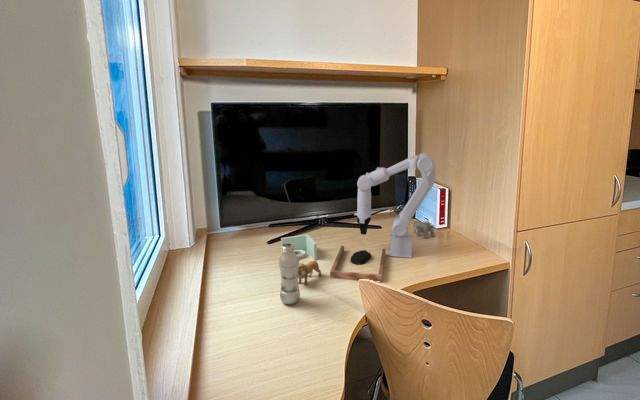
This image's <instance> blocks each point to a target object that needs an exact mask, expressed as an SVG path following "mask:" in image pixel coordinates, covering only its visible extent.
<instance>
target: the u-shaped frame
mask: <svg viewBox="0 0 640 400" xmlns="http://www.w3.org/2000/svg"><path fill="white" fill-rule="evenodd" d="M344 253H345V246H344V245H341V246H340V248H339V251H338V252H337V256H336V257H335V259H334V262H333V265H332V266H331V269H330V271H329V278H330V279H339V280H352V281H359V279H369V280H373V281H380V282H379V283H381V282H382V280H383V275H384V266H385V261H386V260H385V258H386V248H382V251H381V256H380V264H379V269H378V274H377V273H367V272H365V273H364V272H356V271H355V272H353V271H344V270H338V267H339V265H340V262H341V261H342V258H343V256H344Z"/></svg>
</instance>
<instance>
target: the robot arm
mask: <svg viewBox="0 0 640 400" xmlns="http://www.w3.org/2000/svg"><path fill="white" fill-rule="evenodd" d="M436 168H437V166H436V164H435V160H434V159H433V158H432V157H431V155H430V154H429V153H427V152H421V153H419V154H416V155H413V156H410V157H407V158H406V159H404V160H402V161H400V162H397V163H396V164H394V165H391V166H390V167H388V168H387V167H383V166H382V167H380V166H378V167H376V169H375V170H373V171H371V172H366V173H365V174H363V175H360V176H359V178H358V180H357V183H356V185H357V194H356V195H357V196H356V197H357V201H356V202H357V203H356V205H357V207H356V208H357V209H356V210H357V211H356V212H354V216H357V218H356V221H357V224H358V226H359V230H360V234H361V235H363V236H364V235H367V232H368V229H369V224H370V221H371V218H372V192H371V191H372V190H371V189H372V187H375V186H378V185H380V184H382V183H385V182H386V181H388V180H389V179H390V177H391V176H394V175H395V174H398V173H400V172H403V171H406V170H413V171H417V169H418V170H419V172H420V174H421V181H420V182H419V184H418V186H417V187H416V188H415V190H414V192H413V193H412V194H411V196H410V197H409V199H408V201H407V203H406V204H405V205H404V208H403V209H402V210H401V211H400V212H399V214H398V215H397V216H394V217H393V218H392V221H391V225H392V227H391V231H390V247H389V248H388V257H396V258H406V259H407V258H409V259H410V258H413V252H414V247H413V245H414V244H413V242H414V241H413V240H414V239H413V238H414V237H413V236H414V235H413V234H410V233H409V232H408V231H409V230H408V229H409V226H410V224H411V222H412V218H413V217H414V216H415V214H416V213H417V211H418V209H419V208H420V207H421V205H422V203H423V202H424V201H425V199H426V197H427V195H428V194H429V192H430V191H431V189H432V188H433V186H434V185H435V183H436V181H437V178H436V177H437V175H436V174H437V173H436V170H437V169H436Z"/></svg>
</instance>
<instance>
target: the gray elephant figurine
mask: <svg viewBox="0 0 640 400" xmlns="http://www.w3.org/2000/svg"><path fill="white" fill-rule="evenodd" d="M413 227H414V231H413V234H416V236H420V234H424V239H429V238H430V235H429V233H430V234H431V236H432V237H435V235H436V233H435V231H434V227H435V226H434V224H432V223H431V222H428V221H423V222H422V221H420V222H419V221H417V220H416V221H414V222H413Z"/></svg>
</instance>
